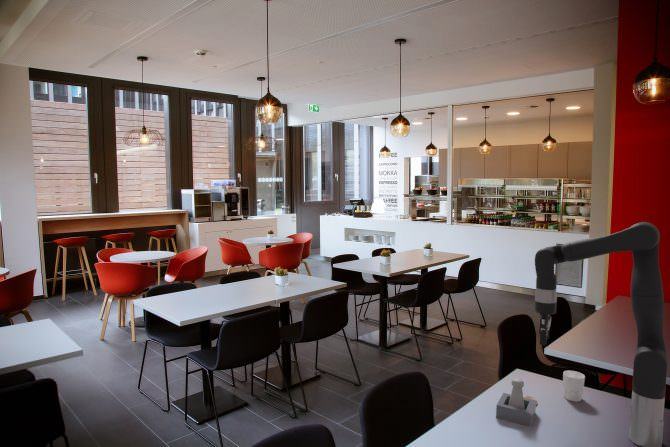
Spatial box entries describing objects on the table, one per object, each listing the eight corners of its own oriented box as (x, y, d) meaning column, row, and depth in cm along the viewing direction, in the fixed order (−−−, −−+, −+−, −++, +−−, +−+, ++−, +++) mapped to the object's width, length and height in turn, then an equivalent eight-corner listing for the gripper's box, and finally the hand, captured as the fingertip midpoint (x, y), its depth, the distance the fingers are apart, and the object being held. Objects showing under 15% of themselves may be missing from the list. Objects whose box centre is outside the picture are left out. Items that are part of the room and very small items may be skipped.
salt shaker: (525, 417, 175) (527, 383, 174) (509, 415, 176) (511, 382, 175) (522, 409, 181) (524, 377, 180) (506, 408, 182) (508, 375, 181)
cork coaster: (538, 399, 192) (538, 398, 191) (535, 408, 184) (535, 407, 184) (515, 394, 196) (515, 392, 196) (511, 402, 188) (511, 401, 188)
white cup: (557, 395, 196) (559, 372, 195) (570, 392, 199) (572, 369, 198) (574, 403, 188) (575, 379, 188) (587, 400, 192) (589, 376, 191)
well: (535, 412, 181) (536, 400, 180) (530, 426, 170) (530, 413, 170) (502, 404, 187) (503, 392, 186) (495, 417, 177) (496, 404, 176)
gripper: (554, 305, 171) (553, 349, 172) (558, 297, 183) (556, 337, 185) (532, 302, 175) (531, 345, 176) (537, 295, 187) (536, 334, 188)
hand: (544, 341), depth 180 cm, fingers open, 8 cm apart
